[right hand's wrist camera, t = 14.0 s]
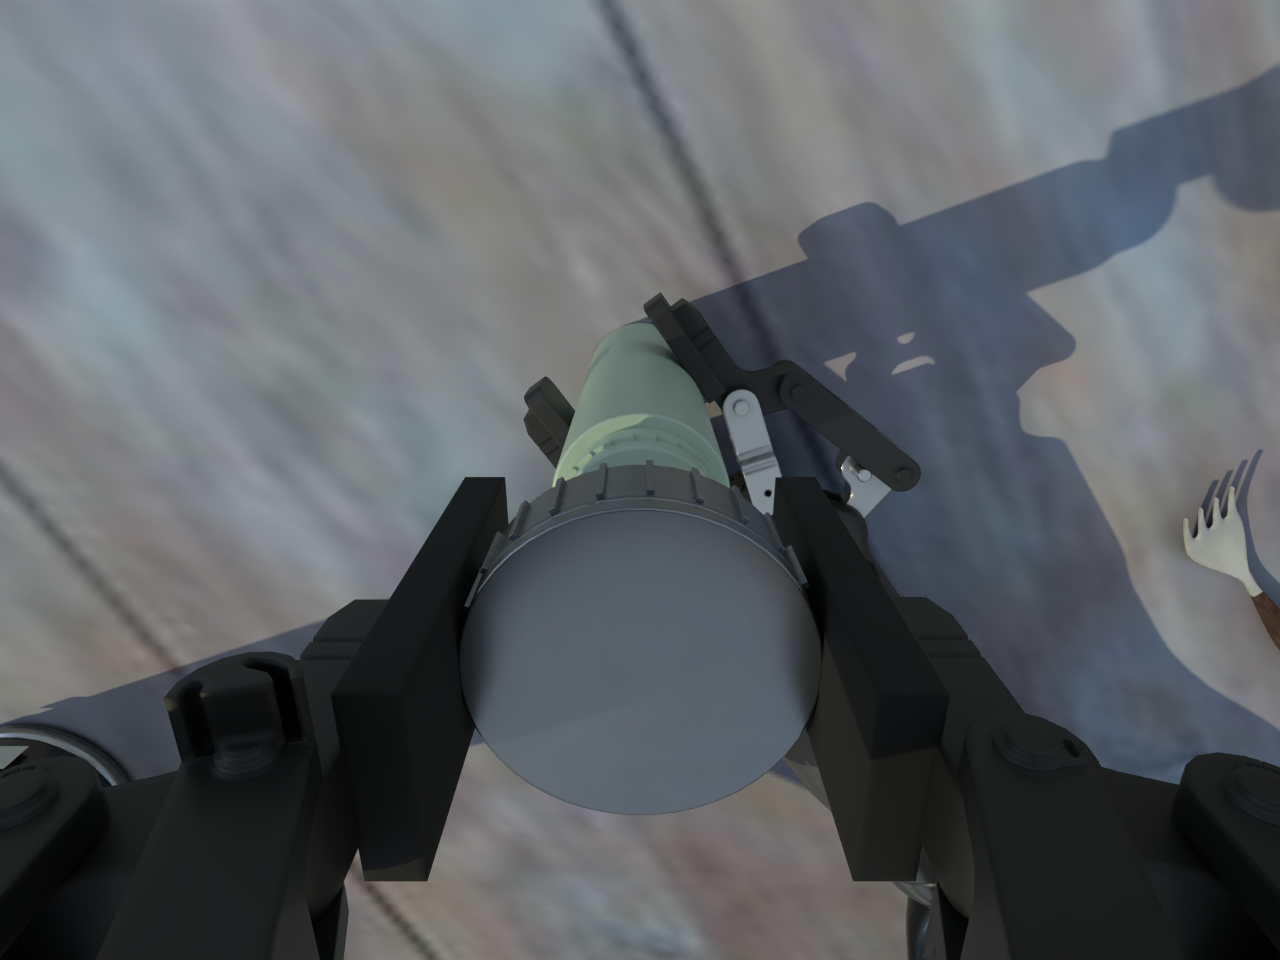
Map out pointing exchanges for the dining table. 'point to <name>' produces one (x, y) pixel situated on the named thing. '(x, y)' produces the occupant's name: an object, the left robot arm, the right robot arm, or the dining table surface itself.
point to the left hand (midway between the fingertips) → (593, 347)
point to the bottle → (640, 411)
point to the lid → (640, 642)
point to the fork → (1230, 557)
